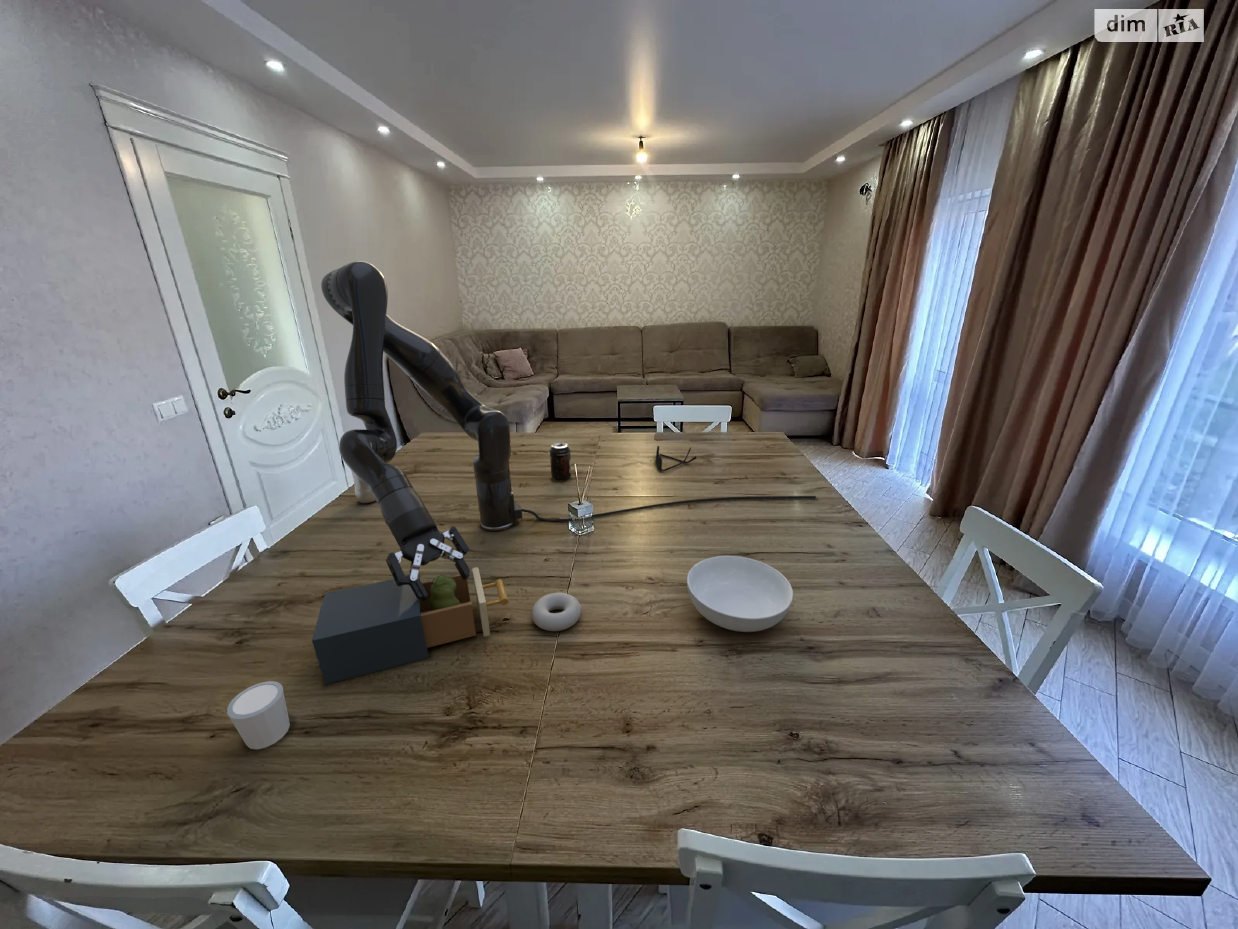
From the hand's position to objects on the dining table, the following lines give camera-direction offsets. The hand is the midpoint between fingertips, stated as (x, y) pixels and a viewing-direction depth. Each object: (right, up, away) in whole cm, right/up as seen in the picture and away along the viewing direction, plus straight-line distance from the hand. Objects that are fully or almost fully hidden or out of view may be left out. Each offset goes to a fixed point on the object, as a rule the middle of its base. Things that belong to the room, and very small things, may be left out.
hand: (447, 588), depth 91 cm
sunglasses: (+53, +23, +85) cm, 103 cm away
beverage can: (+13, +18, +74) cm, 77 cm away
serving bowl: (+57, -7, +9) cm, 58 cm away
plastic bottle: (-45, +12, +58) cm, 75 cm away
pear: (-1, -7, +4) cm, 8 cm away
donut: (+20, -8, +7) cm, 23 cm away
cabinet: (-13, -11, 0) cm, 17 cm away
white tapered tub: (-21, -18, -17) cm, 33 cm away
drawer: (0, -8, +5) cm, 9 cm away
